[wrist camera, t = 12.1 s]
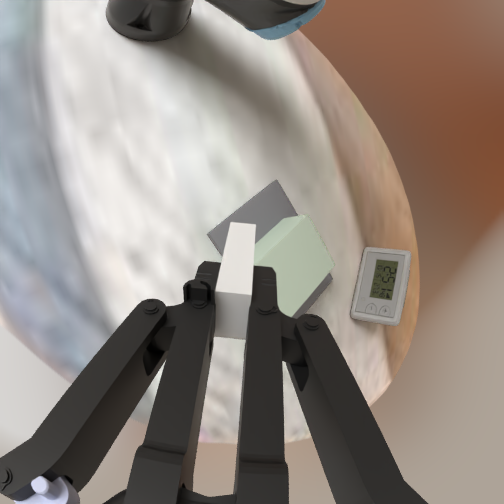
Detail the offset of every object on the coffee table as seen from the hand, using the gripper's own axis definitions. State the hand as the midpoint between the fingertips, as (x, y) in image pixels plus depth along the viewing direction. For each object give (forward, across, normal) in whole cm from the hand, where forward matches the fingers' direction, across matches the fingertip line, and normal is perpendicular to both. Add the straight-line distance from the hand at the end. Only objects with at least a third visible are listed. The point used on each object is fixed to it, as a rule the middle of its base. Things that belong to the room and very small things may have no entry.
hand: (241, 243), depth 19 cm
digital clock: (+36, +26, -28) cm, 52 cm away
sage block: (+18, +2, -19) cm, 27 cm away
